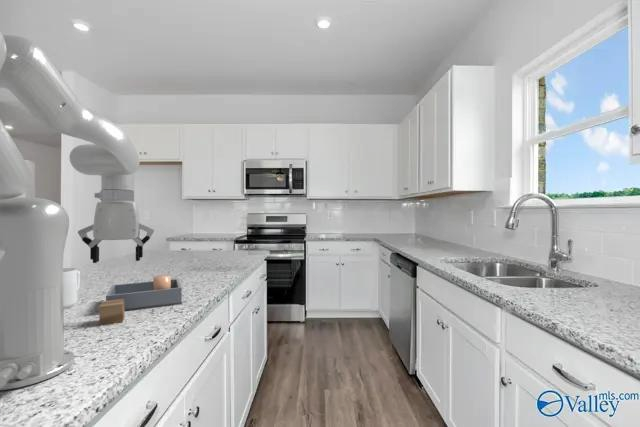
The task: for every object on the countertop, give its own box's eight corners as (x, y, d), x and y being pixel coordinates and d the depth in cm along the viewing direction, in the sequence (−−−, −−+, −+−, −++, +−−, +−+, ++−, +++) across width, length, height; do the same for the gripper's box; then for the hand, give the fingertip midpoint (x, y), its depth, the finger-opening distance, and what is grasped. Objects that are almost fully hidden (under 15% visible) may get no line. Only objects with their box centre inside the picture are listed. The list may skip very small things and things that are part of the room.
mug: (62, 311, 90) (61, 273, 90) (31, 312, 90) (30, 273, 90) (92, 299, 102) (91, 265, 102) (64, 300, 102) (64, 266, 102)
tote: (178, 292, 111) (178, 278, 111) (181, 303, 98) (181, 287, 98) (112, 300, 101) (112, 285, 101) (106, 313, 89) (105, 296, 88)
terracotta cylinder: (153, 301, 98) (153, 279, 98) (153, 297, 103) (153, 276, 103) (171, 299, 101) (170, 277, 101) (170, 295, 105) (170, 274, 105)
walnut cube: (122, 322, 82) (122, 303, 82) (99, 326, 79) (99, 306, 79) (124, 317, 86) (124, 298, 86) (102, 320, 84) (102, 301, 84)
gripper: (74, 195, 78) (73, 265, 77) (152, 197, 84) (152, 261, 84) (83, 198, 85) (82, 261, 84) (155, 199, 91) (154, 258, 91)
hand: (117, 261), depth 84 cm, fingers open, 9 cm apart
